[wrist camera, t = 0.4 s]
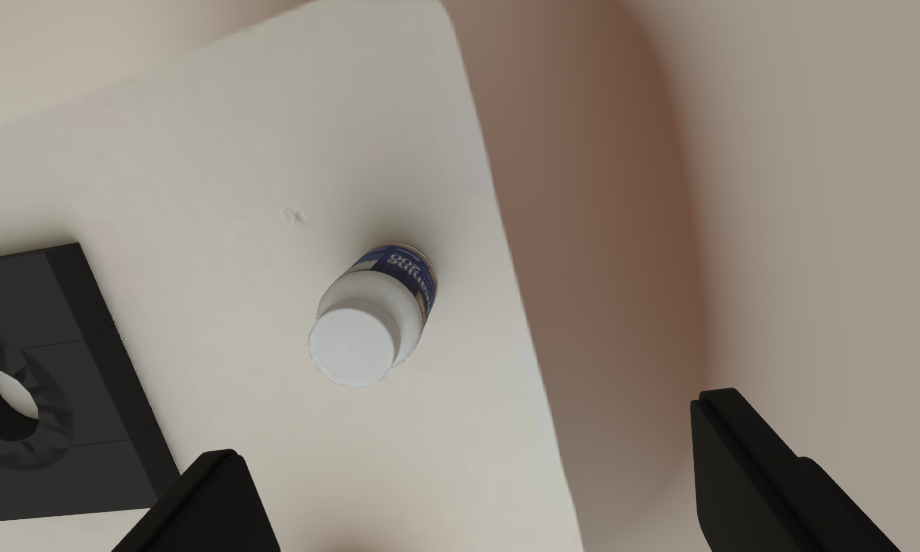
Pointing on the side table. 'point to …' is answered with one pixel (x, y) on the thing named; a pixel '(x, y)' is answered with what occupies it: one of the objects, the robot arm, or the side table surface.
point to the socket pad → (71, 397)
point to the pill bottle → (373, 315)
